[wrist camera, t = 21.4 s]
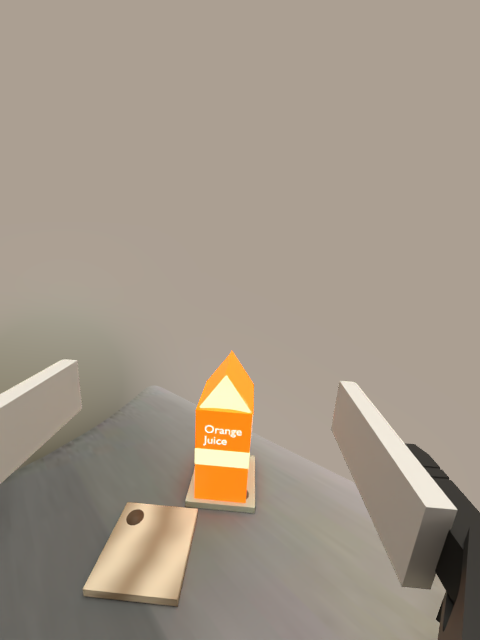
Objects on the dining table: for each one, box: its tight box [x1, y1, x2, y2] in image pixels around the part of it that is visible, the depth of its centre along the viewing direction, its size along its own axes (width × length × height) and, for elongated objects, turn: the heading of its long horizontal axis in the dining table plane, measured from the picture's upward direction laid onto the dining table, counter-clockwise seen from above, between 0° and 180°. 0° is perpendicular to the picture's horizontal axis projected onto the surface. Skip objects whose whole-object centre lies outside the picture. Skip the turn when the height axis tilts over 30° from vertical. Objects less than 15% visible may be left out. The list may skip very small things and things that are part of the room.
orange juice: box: [194, 351, 254, 503], centre depth 40 cm, size 8×9×20 cm
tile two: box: [185, 455, 255, 513], centre depth 43 cm, size 10×10×1 cm
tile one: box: [83, 502, 198, 606], centre depth 32 cm, size 10×10×1 cm
